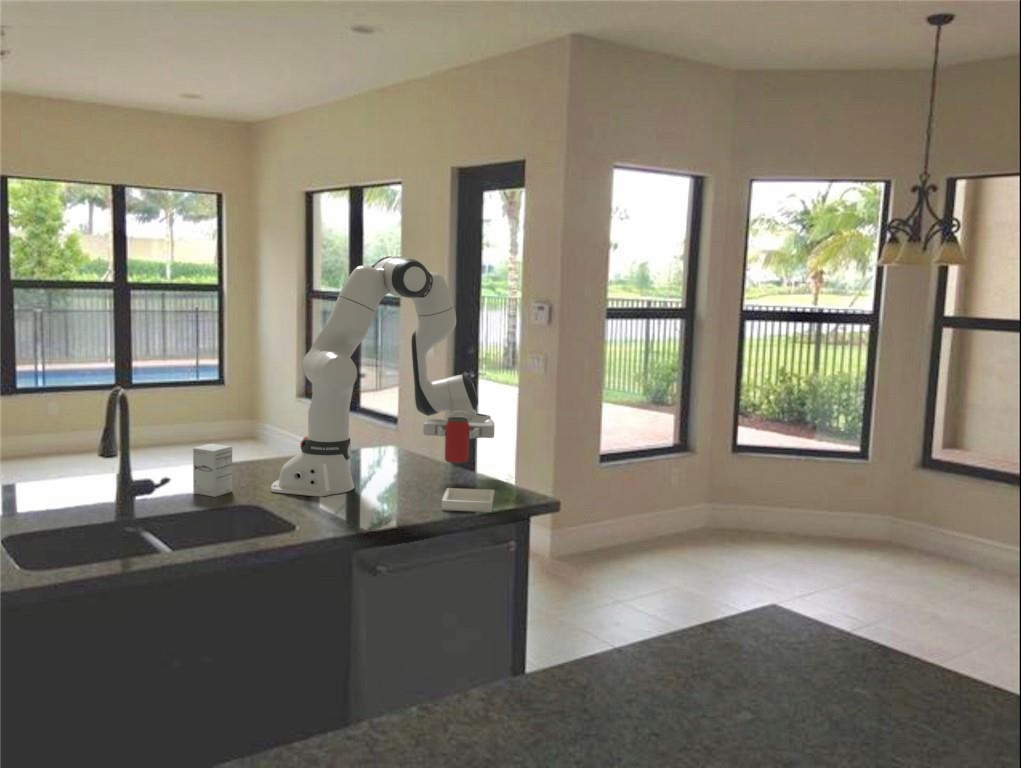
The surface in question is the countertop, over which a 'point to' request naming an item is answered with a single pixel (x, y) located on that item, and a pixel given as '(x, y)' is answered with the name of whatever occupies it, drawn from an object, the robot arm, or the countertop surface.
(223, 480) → the supplement box
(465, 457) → the beer can
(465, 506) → the tray
